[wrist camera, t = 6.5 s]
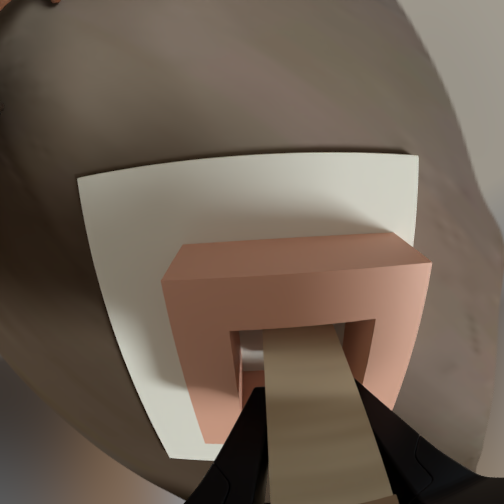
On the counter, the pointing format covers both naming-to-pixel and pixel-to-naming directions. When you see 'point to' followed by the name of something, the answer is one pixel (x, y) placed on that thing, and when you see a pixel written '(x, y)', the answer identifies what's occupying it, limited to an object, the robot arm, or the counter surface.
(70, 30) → the counter surface
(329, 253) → the pink square ring
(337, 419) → the dowel
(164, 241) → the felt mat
